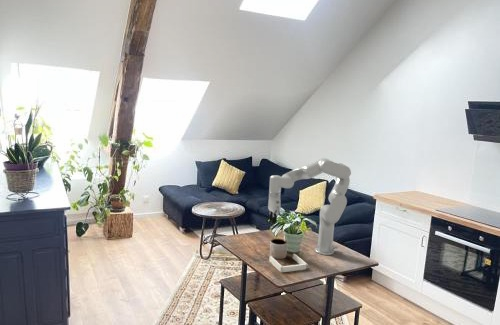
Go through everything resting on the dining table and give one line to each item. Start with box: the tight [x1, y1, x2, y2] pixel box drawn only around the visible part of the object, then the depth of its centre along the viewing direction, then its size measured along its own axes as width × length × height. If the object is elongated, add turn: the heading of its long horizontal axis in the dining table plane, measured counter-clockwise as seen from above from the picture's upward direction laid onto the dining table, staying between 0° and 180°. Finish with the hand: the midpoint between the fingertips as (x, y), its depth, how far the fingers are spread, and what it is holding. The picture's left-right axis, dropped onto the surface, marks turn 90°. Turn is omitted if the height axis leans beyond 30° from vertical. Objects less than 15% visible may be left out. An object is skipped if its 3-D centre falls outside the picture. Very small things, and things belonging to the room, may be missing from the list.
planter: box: [269, 238, 288, 260], centre depth 233 cm, size 11×11×10 cm
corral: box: [269, 253, 309, 273], centre depth 220 cm, size 17×16×3 cm
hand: (272, 221), depth 240 cm, fingers open, 3 cm apart
